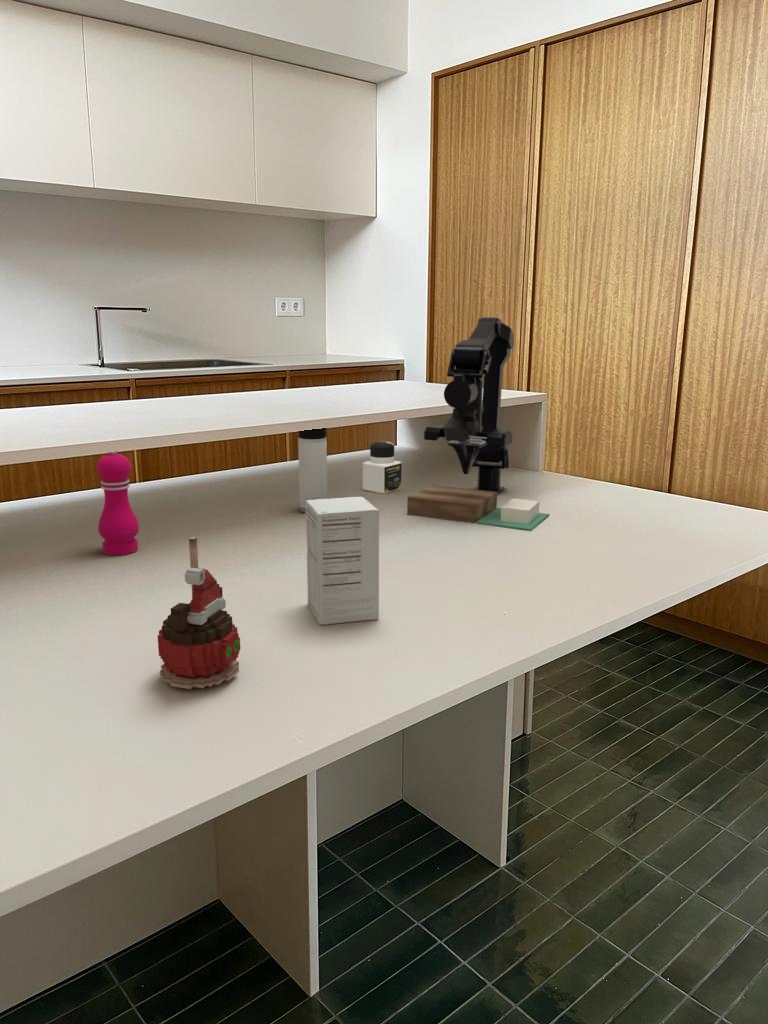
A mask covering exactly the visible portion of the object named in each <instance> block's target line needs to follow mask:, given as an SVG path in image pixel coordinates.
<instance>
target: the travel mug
mask: <svg viewBox="0 0 768 1024" xmlns="http://www.w3.org/2000/svg"><path fill="white" fill-rule="evenodd" d="M297 431H298V430H297ZM297 438H298V441H297V442H298V443H297V444H298V445H297V446H298V488H299V489H298V490H299V492H298V493H299V494H298V495H299V501H298V502H299V511H300V512H301V513H304V514H306V500H315V499H328V454H327V453H328V449H327V448H328V441H327V427H326V428H322V429H312V430H304V431H298V437H297Z"/></svg>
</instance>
